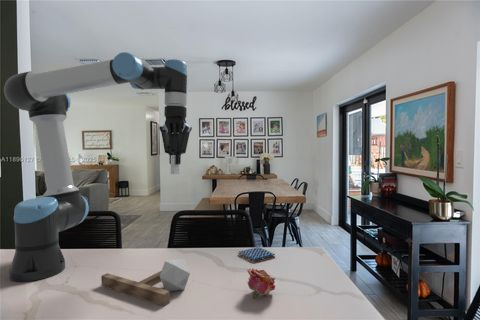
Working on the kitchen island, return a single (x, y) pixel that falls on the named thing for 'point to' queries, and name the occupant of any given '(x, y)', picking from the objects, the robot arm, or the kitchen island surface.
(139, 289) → the walnut T rail
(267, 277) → the flower
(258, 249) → the woven mat
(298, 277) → the kitchen island surface
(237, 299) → the kitchen island surface
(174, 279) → the die
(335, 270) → the kitchen island surface
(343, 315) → the kitchen island surface
